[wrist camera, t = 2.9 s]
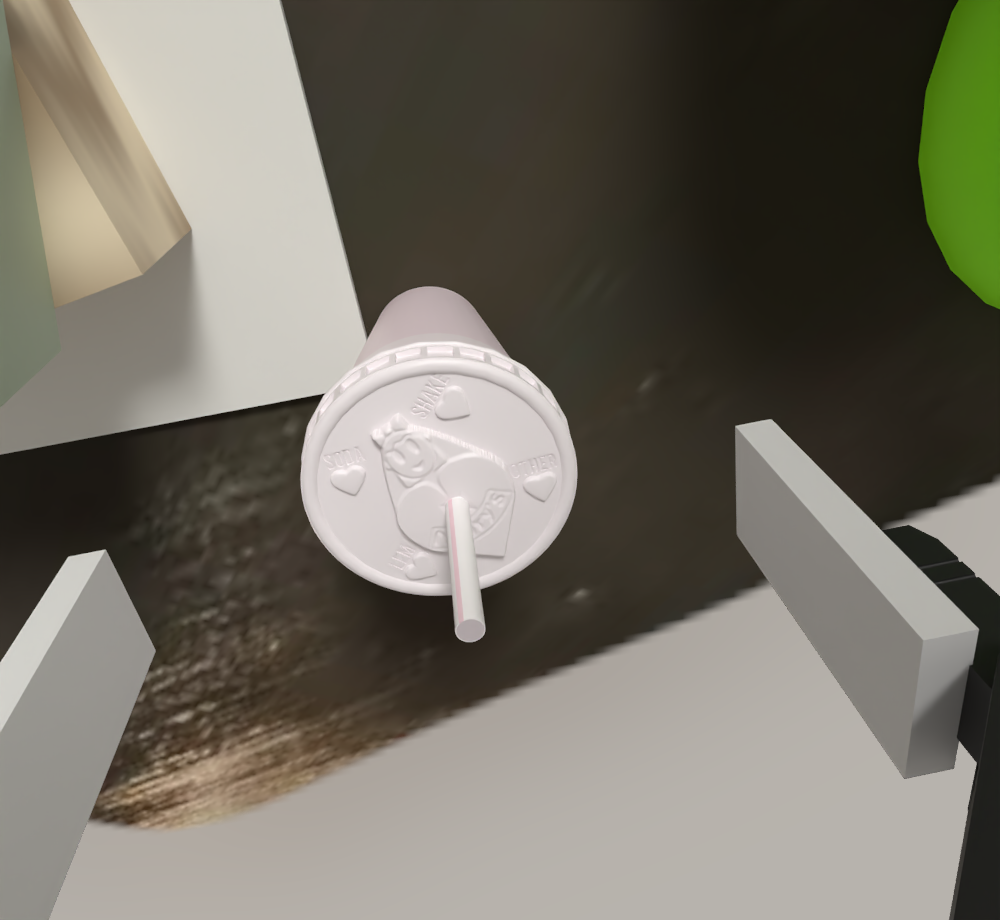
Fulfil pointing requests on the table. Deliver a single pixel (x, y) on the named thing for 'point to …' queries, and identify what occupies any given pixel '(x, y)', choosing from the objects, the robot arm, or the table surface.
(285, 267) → the felt mat
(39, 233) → the sage block
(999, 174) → the wineglass
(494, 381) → the smoothie
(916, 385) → the table surface
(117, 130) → the beech tray
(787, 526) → the robot arm
